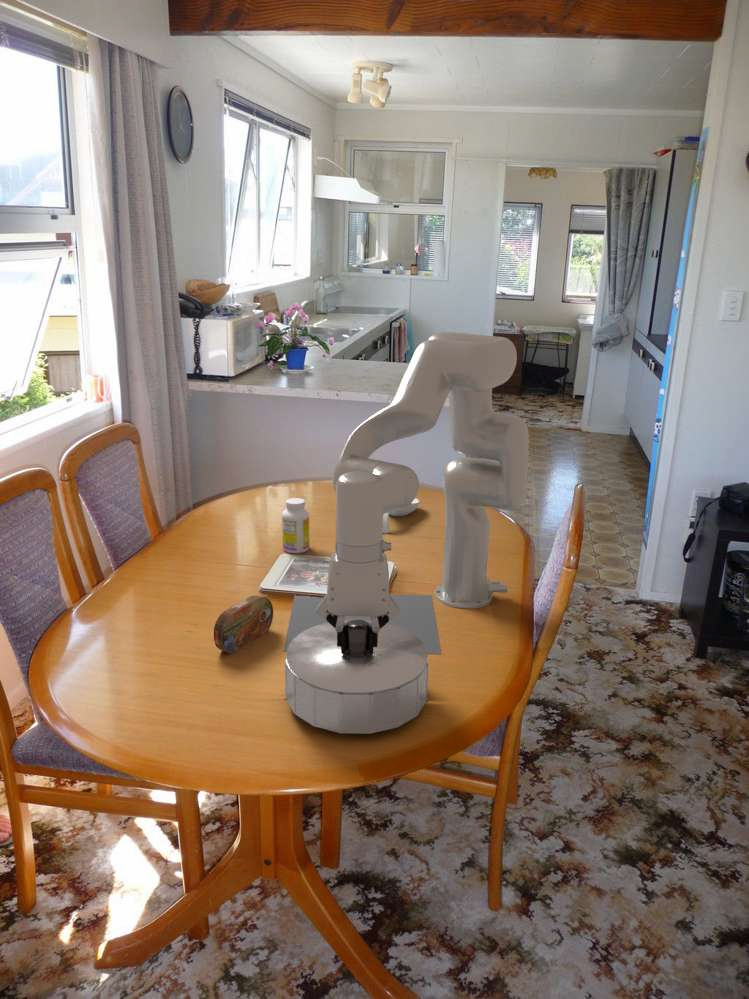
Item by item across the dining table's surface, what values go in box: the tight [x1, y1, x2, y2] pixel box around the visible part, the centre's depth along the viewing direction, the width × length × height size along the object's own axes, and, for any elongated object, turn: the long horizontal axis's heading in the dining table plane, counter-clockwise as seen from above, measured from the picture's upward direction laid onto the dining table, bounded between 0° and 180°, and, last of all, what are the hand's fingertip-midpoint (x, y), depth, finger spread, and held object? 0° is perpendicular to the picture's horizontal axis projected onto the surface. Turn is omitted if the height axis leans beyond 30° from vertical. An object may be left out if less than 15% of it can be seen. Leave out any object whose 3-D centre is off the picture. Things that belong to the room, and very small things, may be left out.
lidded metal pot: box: [284, 620, 430, 735], centre depth 137 cm, size 24×24×13 cm
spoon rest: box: [383, 497, 421, 534], centre depth 226 cm, size 24×12×7 cm, turn 164°
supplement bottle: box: [281, 497, 310, 555], centre depth 202 cm, size 7×7×13 cm
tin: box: [213, 595, 274, 655], centre depth 157 cm, size 15×3×8 cm, turn 148°
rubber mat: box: [283, 593, 442, 655], centre depth 167 cm, size 30×26×1 cm
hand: (357, 648), depth 137 cm, fingers closed on lidded metal pot, 4 cm apart
